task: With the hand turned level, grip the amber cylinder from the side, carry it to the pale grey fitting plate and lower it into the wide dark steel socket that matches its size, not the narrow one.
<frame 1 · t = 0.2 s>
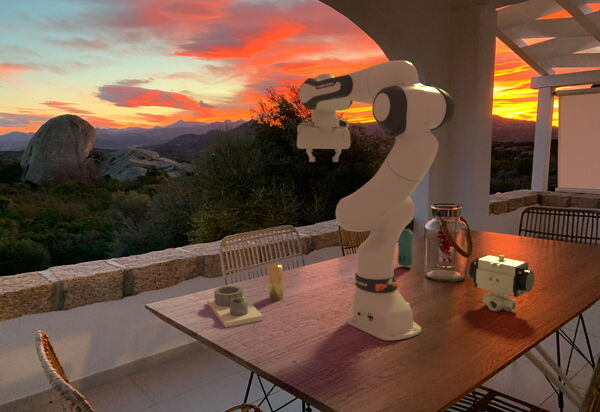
hand: (324, 161, 151), 48 cm above the table, tool pointing down, fingers open, 8 cm apart
amber cylinder: (276, 298, 150), on the table
fitting plate: (233, 311, 138), on the table
beverage bottle: (405, 267, 185), on the table
ball valve: (497, 309, 137), on the table
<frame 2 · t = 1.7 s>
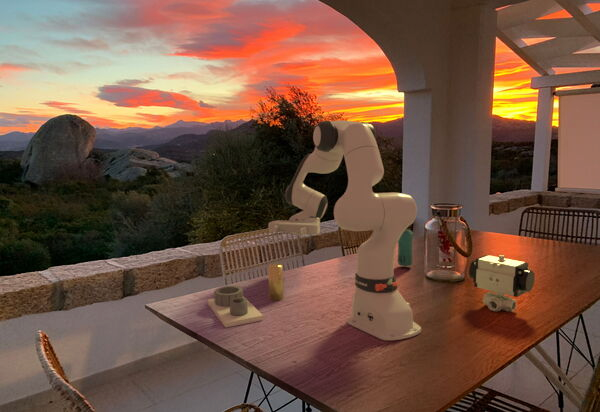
hand: (287, 231, 158), 22 cm above the table, tool horizontal, fingers open, 8 cm apart
nothing on the table moved.
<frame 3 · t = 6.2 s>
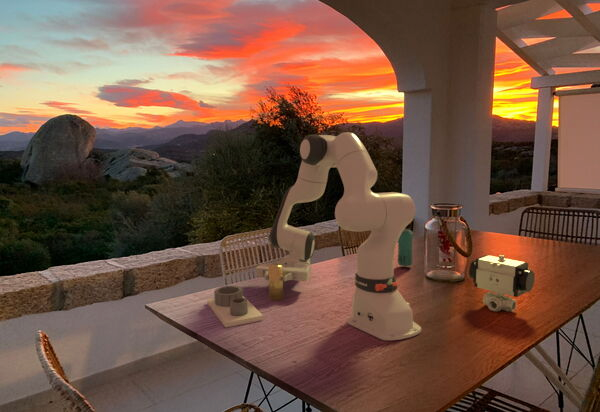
hand: (274, 278, 148), 8 cm above the table, tool horizontal, fingers closed on amber cylinder, 5 cm apart
amber cylinder: (276, 298, 150), on the table, touching gripper
everything else where it was.
when the fingers open (10 cm above the table, at t = 11.1 s): amber cylinder stays where it is, resting on fitting plate.
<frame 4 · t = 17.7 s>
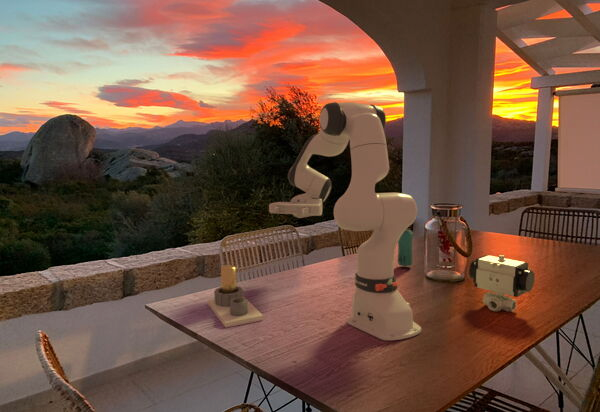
hand: (288, 211, 153), 30 cm above the table, tool horizontal, fingers open, 8 cm apart
amber cylinder: (229, 301, 142), point 2 cm above the table, touching fitting plate
everything else where it was.
at the end: amber cylinder 0.1 cm from the target spot on the fitting plate, point 1.6 cm above the fitting plate's base; amber cylinder tilted 1°; the gripper is holding nothing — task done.
